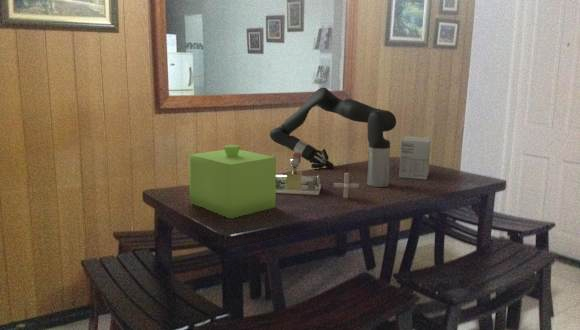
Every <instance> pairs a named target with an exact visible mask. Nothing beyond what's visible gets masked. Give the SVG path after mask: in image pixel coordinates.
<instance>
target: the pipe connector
mask: <svg viewBox="0 0 580 330" xmlns="http://www.w3.org/2000/svg"><path fill="white" fill-rule="evenodd" d="M349 177H350V173H349V172H344V177H343V183H342V182H334V183H333V188H341V189H342V188H343V198H344V199H348V198H349V189H359V185H360V183H349V180H350V179H349Z"/></svg>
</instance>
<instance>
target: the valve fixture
mask: <svg viewBox="0 0 580 330" xmlns="http://www.w3.org/2000/svg"><path fill="white" fill-rule="evenodd" d="M297 169H298V167H292V169H291V170H292V171H290V170H289V171H287V173H286V174H277V173H276V194H290V195H291V194H292V195H294V194H295V195H311V196H315V195H316V196H319V195H320V192H321V189H322V188H321V187H322V184H320V174H317V175H303V171H297Z"/></svg>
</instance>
